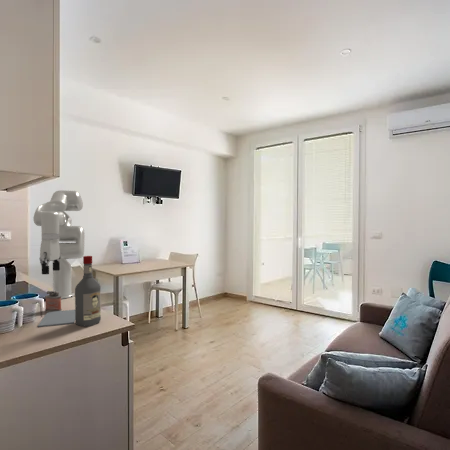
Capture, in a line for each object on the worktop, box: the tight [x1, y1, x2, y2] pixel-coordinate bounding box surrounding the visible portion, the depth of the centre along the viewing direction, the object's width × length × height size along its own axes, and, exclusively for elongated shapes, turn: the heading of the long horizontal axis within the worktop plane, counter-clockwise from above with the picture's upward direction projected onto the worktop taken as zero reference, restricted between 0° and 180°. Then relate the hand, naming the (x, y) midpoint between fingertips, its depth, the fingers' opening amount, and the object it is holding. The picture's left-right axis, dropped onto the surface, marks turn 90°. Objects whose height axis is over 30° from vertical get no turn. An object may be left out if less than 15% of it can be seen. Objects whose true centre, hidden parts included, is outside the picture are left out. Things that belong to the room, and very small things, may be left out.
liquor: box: [74, 255, 102, 328], centre depth 140 cm, size 9×9×30 cm
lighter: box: [44, 290, 63, 312], centre depth 158 cm, size 8×3×10 cm, turn 84°
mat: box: [37, 309, 75, 328], centre depth 147 cm, size 20×14×1 cm
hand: (51, 272), depth 153 cm, fingers open, 9 cm apart
